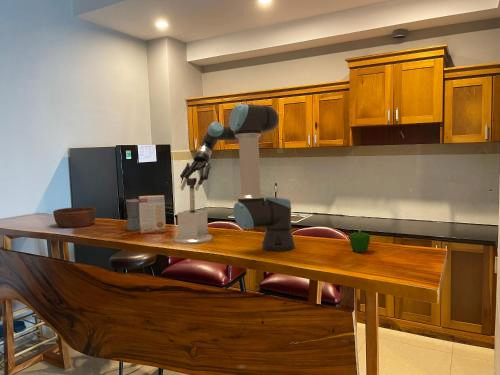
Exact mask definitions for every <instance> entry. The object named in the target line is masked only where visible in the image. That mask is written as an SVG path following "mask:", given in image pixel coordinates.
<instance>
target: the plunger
mask: <svg viewBox="0 0 500 375" xmlns="http://www.w3.org/2000/svg"><path fill="white" fill-rule="evenodd" d="M197 180H198V178H197V177H189V178H187V183H186V186H188V187H189V210H190V212H195V210H196V207H195V206H196V203H195V202H196V200H195V198H196V196H195V188H194V187H195V185H196V182H197Z"/></svg>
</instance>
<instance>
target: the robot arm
mask: <svg viewBox="0 0 500 375" xmlns="http://www.w3.org/2000/svg"><path fill="white" fill-rule="evenodd" d="M228 123H229V124H228V125H229V126H225V125H223V124H222V123H221V122H218V121H213V122H211V123H210V125H209V126H208V128H207V131H206V133H205V135H204V136H203V137H202V140H201V143H200V144H199V147H198V149H197V151H196V153H195V156H194V158H193V161H192V162H191V163H189V162H187V163H186V166H185V167H184V169H183V170H182V172H181V173H180V175H179V176H180V180H181V181H180V184H179V185H180V186H179V188H180V190H181V191H184V189H185V187H186V186H187V178H191V176H192V174H194V173H195V172H197V171H199V177H198V178H197V182H196V185H194V190H195V192H198V191H199V188H200V186H201V185H202V184H203V182H204V181H207V180H208V178H209V175H210V170H211V169H212V164H211V163H210V162H209V160H210V159H211V155H212V154H213V151H214V149H215V147H216V145H217V143H218V142H219V141H237V142H238V149H239V150H238V151H239V152H238V153H239V173H240V174H239V176H240V195H239V197H237V202H236V203H234V204H233V209H232V210H233V211H232V212H233V217H234V220H235V222H236V224H237V225H238V227H239V228H241V229H243V230H244V229H255V228H256V229H257V228H265V232H264V236H263V240H262V242H261V248H262V249H263V250H266V251H270V252H271V251H272V252H288V251H292V250H294V249H295V248H296V242H295V240H294V237H293V233H292V205H291V204H292V203H291V200H290V199H288V198H282V197H275V196H274V197H273V196H264V195H263V194H262V192H261V172H260V170H261V169H260V149H259V148H260V146H259V139H260V137H261V136H262V133H268V132H272V131H274V130H275V129H277V127H278V125H279V123H280V118H279V113H278V111H276V109H275V108H273V107H272V106H269V105H266V104H265V105H261V104H249V103H239V104H236V105H235V106H234V107H233V108H232V110H231V112H230V115H229V121H228Z"/></svg>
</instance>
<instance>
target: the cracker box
mask: <svg viewBox="0 0 500 375" xmlns="http://www.w3.org/2000/svg"><path fill="white" fill-rule="evenodd" d="M138 200H139V214H140V230H139V232H140V234H141V235H145V234H154V233H155V234H159V233H160V234H161V233H162V234H163V233H166V231H167V230H166V227H167V226H166V204H165V203H166V202H165V195H163V194H161V195H160V194H158V195H139V196H138Z"/></svg>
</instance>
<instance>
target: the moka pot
mask: <svg viewBox="0 0 500 375" xmlns="http://www.w3.org/2000/svg"><path fill="white" fill-rule="evenodd" d="M124 203H125V205H124ZM120 205H121V209H122V212H123V215H125V216H127V220H126V227H125V229H126V231H129V232H132V231H135V232H136V231H140V214H139V198H138V199H137V198H136V195H135V196H134V195H133V196H132V199H125V198H123V199H122V200H121V202H120ZM125 206H126V209H125Z"/></svg>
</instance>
